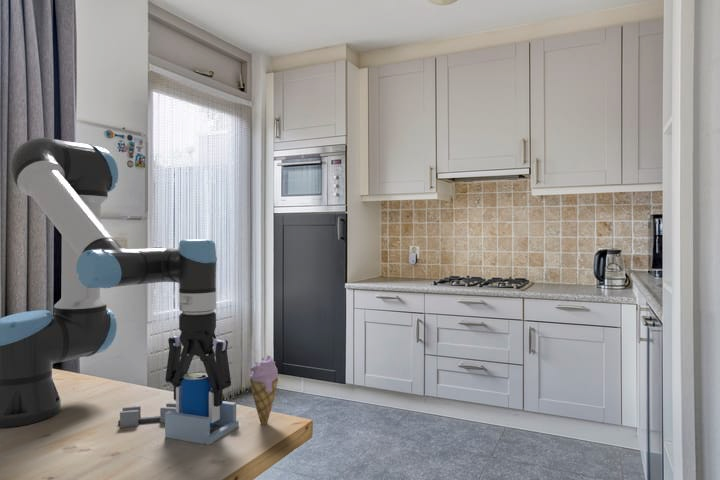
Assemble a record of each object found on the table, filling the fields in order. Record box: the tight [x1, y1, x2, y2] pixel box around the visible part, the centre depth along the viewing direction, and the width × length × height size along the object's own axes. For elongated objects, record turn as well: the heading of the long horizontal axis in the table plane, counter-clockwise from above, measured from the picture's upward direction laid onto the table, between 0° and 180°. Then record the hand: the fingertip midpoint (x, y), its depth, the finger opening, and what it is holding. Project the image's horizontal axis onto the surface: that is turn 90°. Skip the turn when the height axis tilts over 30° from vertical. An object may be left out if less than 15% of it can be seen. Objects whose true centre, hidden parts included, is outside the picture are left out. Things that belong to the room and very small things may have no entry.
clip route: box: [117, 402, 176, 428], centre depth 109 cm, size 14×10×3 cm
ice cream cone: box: [248, 354, 279, 426], centre depth 108 cm, size 7×6×15 cm
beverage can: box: [181, 370, 214, 430], centre depth 105 cm, size 6×6×12 cm
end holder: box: [164, 400, 240, 446], centre depth 104 cm, size 11×10×5 cm
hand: (197, 418), depth 105 cm, fingers open, 8 cm apart
